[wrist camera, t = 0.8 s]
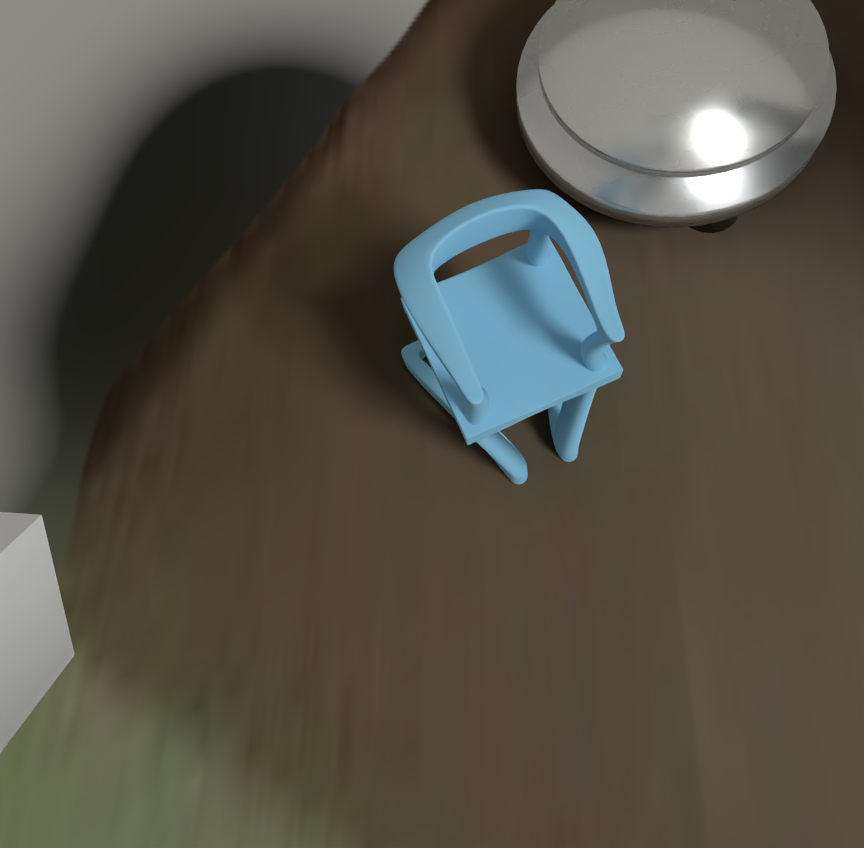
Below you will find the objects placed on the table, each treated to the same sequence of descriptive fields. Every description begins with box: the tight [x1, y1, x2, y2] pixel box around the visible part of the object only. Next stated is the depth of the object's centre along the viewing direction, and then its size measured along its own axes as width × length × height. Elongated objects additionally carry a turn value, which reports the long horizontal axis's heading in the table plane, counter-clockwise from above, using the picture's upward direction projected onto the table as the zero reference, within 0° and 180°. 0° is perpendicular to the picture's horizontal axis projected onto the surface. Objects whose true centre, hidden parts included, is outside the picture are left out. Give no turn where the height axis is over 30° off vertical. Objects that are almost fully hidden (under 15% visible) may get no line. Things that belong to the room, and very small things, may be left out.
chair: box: [394, 189, 625, 484], centre depth 30 cm, size 8×8×12 cm
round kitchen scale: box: [516, 0, 837, 233], centre depth 37 cm, size 15×15×5 cm
